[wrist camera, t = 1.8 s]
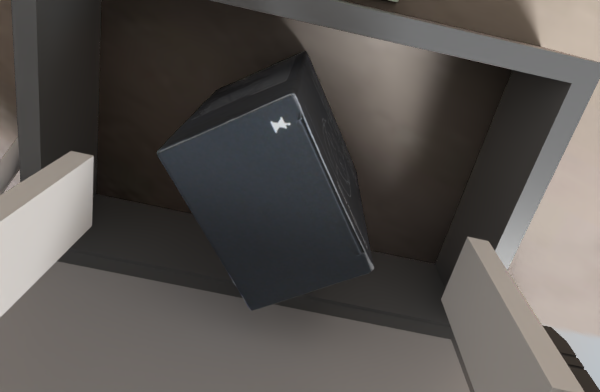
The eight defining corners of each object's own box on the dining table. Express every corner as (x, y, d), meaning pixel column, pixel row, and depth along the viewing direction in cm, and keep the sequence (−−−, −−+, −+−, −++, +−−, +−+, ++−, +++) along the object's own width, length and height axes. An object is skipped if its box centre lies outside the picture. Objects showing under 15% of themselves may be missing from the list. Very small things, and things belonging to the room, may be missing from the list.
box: (214, 89, 26) (150, 151, 16) (307, 48, 24) (297, 86, 15) (273, 206, 28) (248, 317, 19) (358, 174, 27) (379, 274, 18)
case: (55, 210, 29) (-386, 578, 11) (50, -68, 23) (-1051, -294, 4) (440, 289, 30) (617, 737, 12) (541, 47, 24) (1243, 234, 6)
